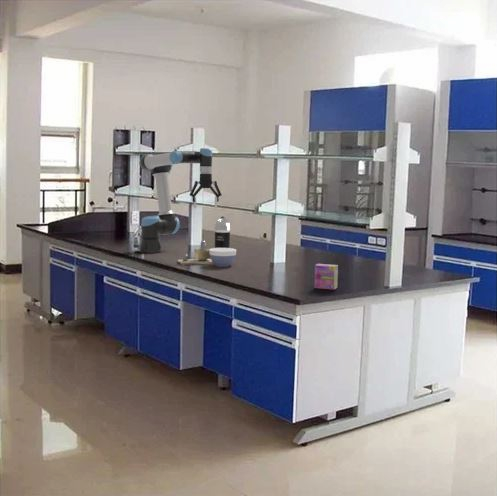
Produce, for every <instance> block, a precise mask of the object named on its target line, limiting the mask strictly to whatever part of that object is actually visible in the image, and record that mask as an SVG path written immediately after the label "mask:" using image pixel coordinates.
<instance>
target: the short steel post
mask: <svg viewBox="0 0 497 496" xmlns="http://www.w3.org/2000/svg"><path fill="white" fill-rule="evenodd" d="M188 259H189V254H187V253H185V254H182V260H183V261H185V262H186V261H188Z"/></svg>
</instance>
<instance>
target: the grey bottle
mask: <svg viewBox="0 0 497 496" xmlns="http://www.w3.org/2000/svg"><path fill="white" fill-rule="evenodd" d="M214 248H231V223H230V220H228V219H227V218H226V217H225V216H220V217H219V218H218V219H217V220H216V221H215V222H214Z"/></svg>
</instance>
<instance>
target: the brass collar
mask: <svg viewBox="0 0 497 496" xmlns="http://www.w3.org/2000/svg"><path fill="white" fill-rule="evenodd" d="M210 249H211V248H206V250H202V251H201V248H194V255H193V256H194V259H211V258H210V252H209V250H210Z"/></svg>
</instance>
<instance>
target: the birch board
mask: <svg viewBox="0 0 497 496" xmlns="http://www.w3.org/2000/svg"><path fill="white" fill-rule="evenodd" d="M177 262H178V263H179V264H181V265H183V266H186V265H187V266H188V265H189V266H190V265H192V264H193V265H208V264H209V265H210V264H212V265H215V264H214V263H213V262H212V260H211V259H207V261H199V259H197V258H194V259H193V258H188V261H186V262H185V261H183V259H177ZM193 265H192V266H193Z"/></svg>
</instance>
